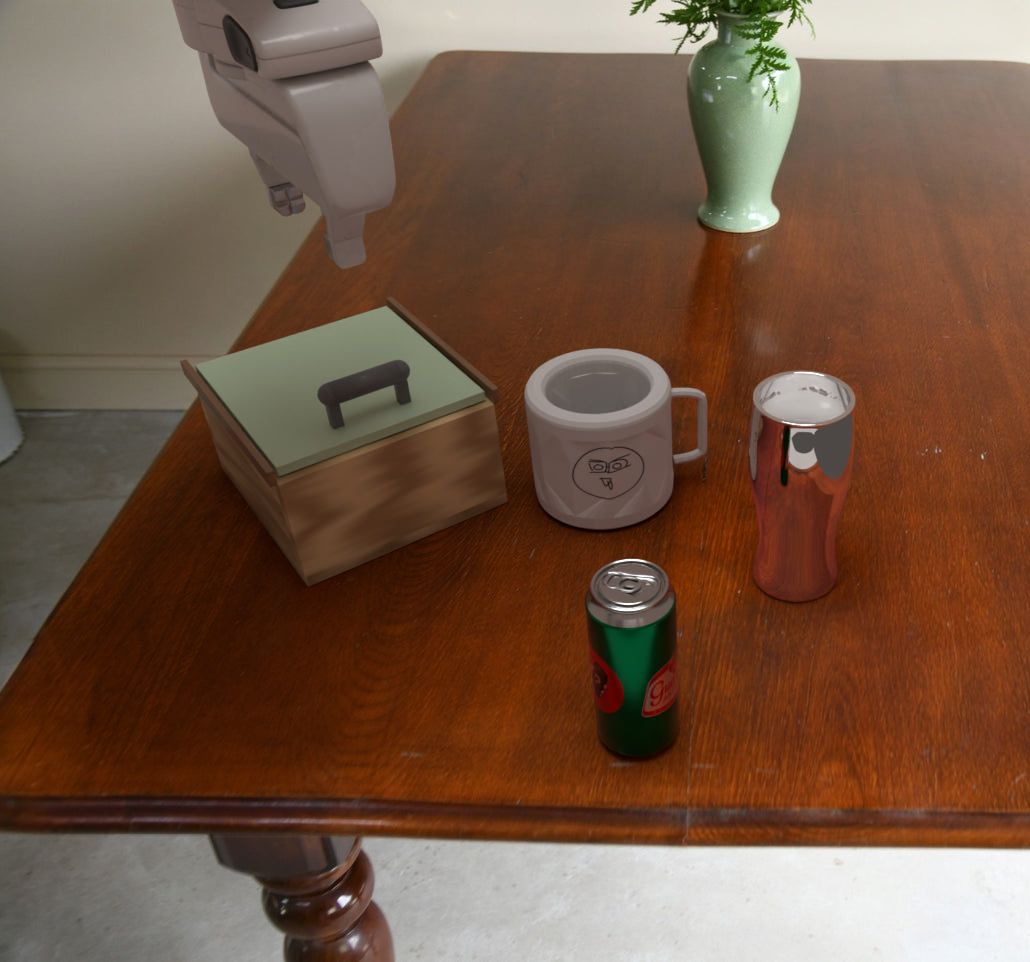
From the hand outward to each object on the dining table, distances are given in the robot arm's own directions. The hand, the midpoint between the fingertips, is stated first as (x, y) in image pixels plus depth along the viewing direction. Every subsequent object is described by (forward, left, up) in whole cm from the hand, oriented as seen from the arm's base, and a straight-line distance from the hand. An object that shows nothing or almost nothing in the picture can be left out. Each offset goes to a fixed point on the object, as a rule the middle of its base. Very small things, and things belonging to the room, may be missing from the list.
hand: (318, 235), depth 70 cm
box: (+1, +7, -24) cm, 25 cm away
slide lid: (+1, +7, -15) cm, 16 cm away
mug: (+17, -6, -24) cm, 30 cm away
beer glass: (+21, -22, -24) cm, 39 cm away
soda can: (+4, -27, -24) cm, 37 cm away
